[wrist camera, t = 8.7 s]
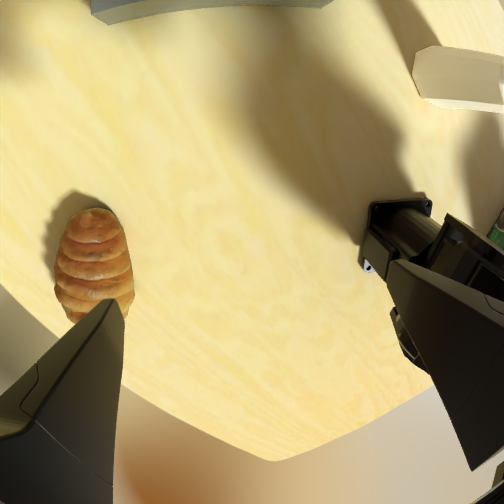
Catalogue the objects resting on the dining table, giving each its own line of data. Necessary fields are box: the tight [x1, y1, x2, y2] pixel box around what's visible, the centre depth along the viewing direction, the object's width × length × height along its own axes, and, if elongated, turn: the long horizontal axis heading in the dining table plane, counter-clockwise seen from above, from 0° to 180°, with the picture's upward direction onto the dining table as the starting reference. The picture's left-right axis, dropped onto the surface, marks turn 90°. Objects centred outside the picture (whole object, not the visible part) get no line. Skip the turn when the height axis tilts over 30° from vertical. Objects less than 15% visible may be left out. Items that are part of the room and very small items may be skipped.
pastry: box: [54, 208, 135, 324], centre depth 21 cm, size 9×7×4 cm
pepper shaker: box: [412, 45, 504, 113], centre depth 13 cm, size 5×5×11 cm
